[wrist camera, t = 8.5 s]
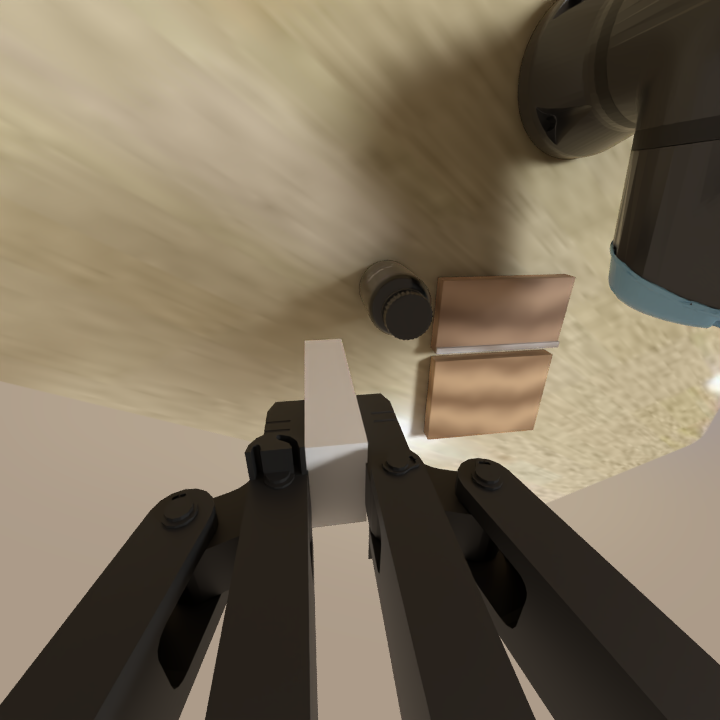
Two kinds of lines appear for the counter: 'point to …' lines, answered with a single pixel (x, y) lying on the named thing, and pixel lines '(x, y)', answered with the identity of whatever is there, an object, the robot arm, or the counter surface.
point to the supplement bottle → (396, 300)
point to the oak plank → (484, 392)
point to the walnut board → (499, 312)
